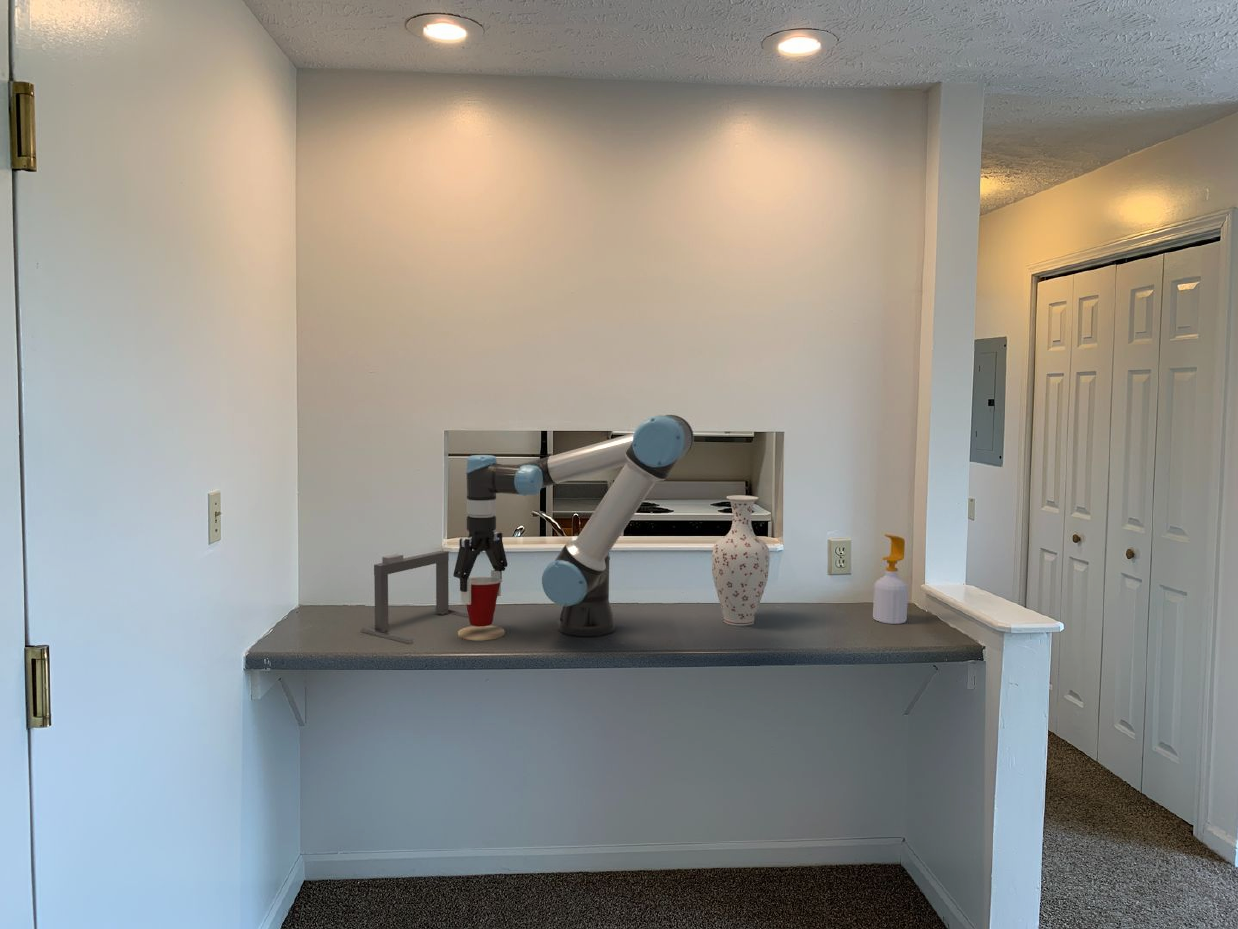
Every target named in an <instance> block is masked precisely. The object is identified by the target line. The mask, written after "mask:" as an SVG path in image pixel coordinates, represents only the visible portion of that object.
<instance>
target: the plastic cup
mask: <svg viewBox="0 0 1238 929" xmlns="http://www.w3.org/2000/svg"><path fill="white" fill-rule="evenodd" d="M468 579H471V604H470V605H467V604H465V605H466V612H468V616H469V617H468V621H469V624H470V626H478V627H482V626H489V625H490V626H492V624H493V622H494V615H495V611H496V605H497V599H498V596H497V595H498V591H499V587H500V583H502V582H503V578H502V579H500V578H494V577H491V576H474V577H473V576H472V577H470V576H469V578H468Z"/></svg>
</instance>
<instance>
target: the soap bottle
mask: <svg viewBox="0 0 1238 929" xmlns="http://www.w3.org/2000/svg"><path fill="white" fill-rule="evenodd" d="M884 536H885V537H886V538H888V539H890V555H889V556H884V557H882V560H883V561H886V563H887V564H888V566H887V567H885V575H884V576H882V577H880V578H878V579H877V580H876V581H875V582H874V584H873V603H872V605H873V607H872V608H873V609H872V618H873V620H874V621H877V622H878V621H879V623H882V624H890V625H899V624H900V625H901V624H905V623H906V622H907V616H908V598H909V597H908V595H909V587H908V584H907V582H905V580H904V579H902V578H900V577H899V575H898V574H899V571H898V570H899V568H897V567H896V565H897V564H898V562H900V561H903V560H904V559H905V558H904V557H905V546H906V541H905V538H902V537H900V536H898V535H893V534H886V533H885V534H884Z"/></svg>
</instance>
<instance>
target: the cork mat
mask: <svg viewBox="0 0 1238 929" xmlns="http://www.w3.org/2000/svg"><path fill="white" fill-rule="evenodd" d="M504 635H505V629H504V628H502V627H499V626H495V625H489V626H482V627H478V626H472V625H470V626H466V627H463V628H460V629H459V630H458V631H457V636H458V637H459V638H460V639H462V640H467V641H473V642H474V641H475V642H477V641H480V642H481V641H493V640H497V639H500V638H502V637H503V636H504Z"/></svg>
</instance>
